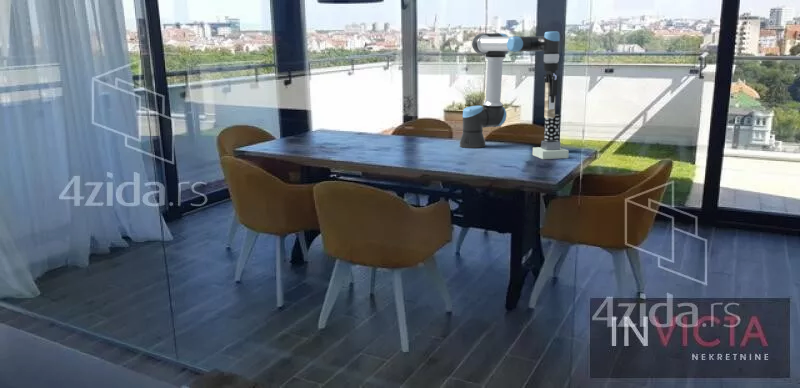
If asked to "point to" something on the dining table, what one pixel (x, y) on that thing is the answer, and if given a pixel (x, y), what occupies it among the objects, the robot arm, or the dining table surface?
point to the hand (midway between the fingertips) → (549, 108)
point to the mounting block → (550, 153)
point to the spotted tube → (552, 128)
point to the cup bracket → (550, 145)
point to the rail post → (548, 112)
